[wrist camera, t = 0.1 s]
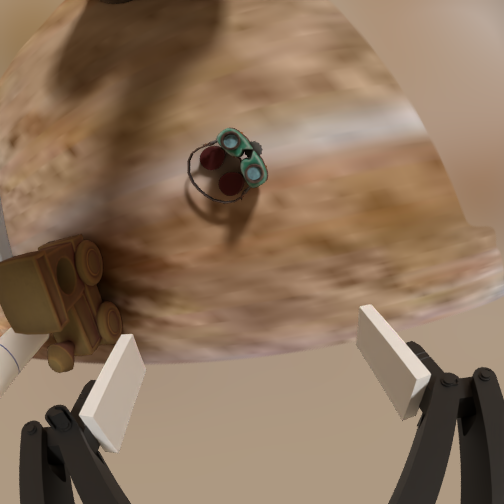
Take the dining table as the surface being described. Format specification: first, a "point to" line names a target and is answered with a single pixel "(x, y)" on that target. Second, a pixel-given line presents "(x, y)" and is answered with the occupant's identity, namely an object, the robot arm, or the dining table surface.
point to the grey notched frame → (4, 239)
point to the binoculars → (235, 147)
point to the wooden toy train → (60, 299)
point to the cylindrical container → (16, 354)
